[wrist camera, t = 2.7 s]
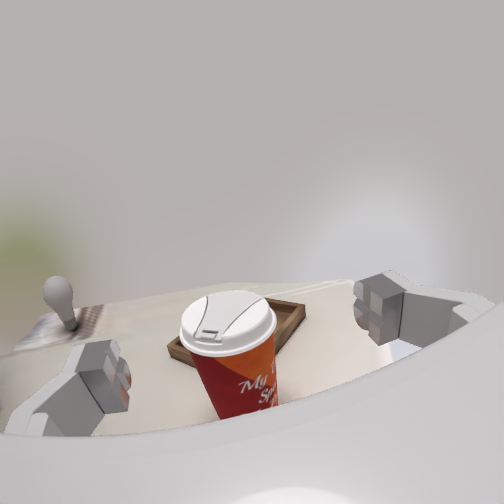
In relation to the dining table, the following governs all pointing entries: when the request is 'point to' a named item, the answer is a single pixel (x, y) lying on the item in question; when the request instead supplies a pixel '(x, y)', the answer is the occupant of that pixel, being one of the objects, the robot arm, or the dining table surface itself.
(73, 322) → the lightbulb
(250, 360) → the paper cup
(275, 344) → the tray
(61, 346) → the dining table surface
